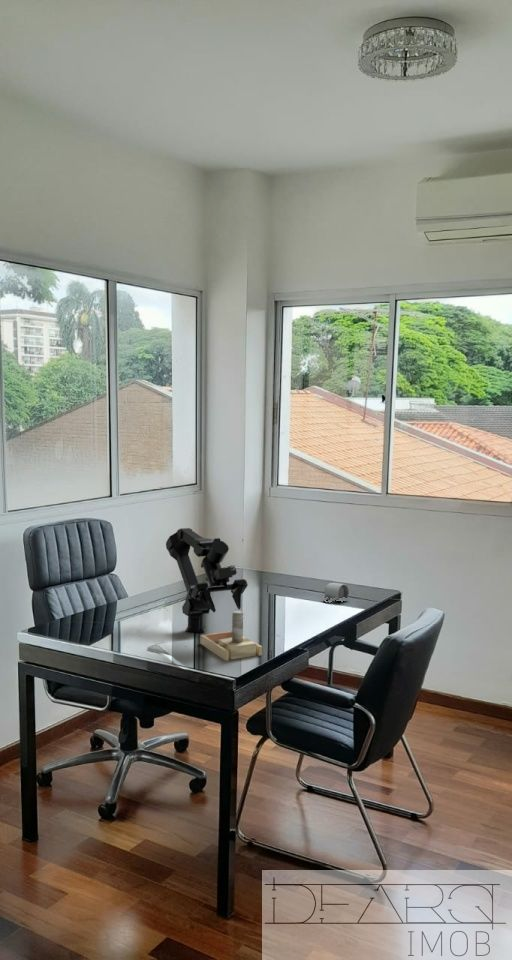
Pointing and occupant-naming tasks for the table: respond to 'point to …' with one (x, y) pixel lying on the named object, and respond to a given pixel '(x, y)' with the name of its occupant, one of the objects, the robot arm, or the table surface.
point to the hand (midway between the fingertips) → (227, 610)
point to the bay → (211, 644)
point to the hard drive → (158, 648)
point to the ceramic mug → (336, 591)
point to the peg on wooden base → (238, 640)
